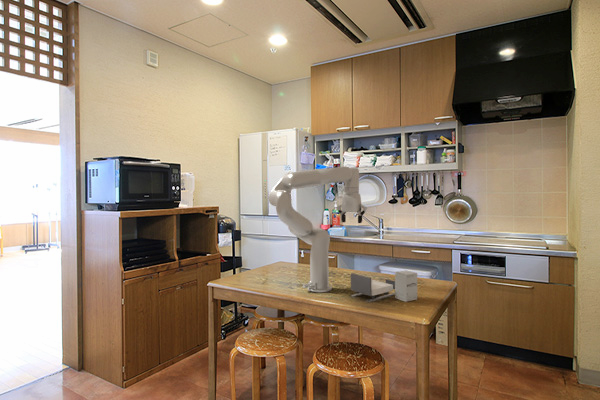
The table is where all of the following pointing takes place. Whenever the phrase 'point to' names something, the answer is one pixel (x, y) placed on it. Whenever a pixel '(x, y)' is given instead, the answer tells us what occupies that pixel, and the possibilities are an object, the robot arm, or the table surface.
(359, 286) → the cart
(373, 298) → the rail track
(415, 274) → the supplement box
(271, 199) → the robot arm
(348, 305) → the table surface
